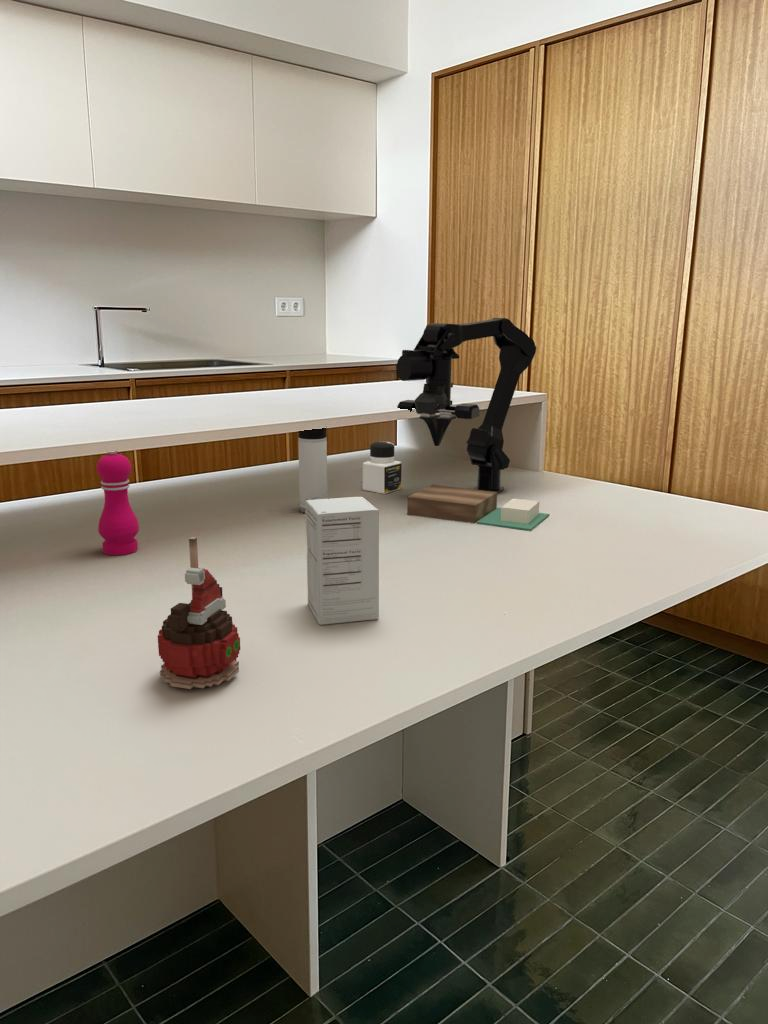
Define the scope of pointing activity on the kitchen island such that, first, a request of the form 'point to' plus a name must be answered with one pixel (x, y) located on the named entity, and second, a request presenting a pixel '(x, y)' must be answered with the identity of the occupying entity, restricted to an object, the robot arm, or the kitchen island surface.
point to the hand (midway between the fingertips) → (436, 445)
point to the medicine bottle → (382, 469)
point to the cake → (199, 634)
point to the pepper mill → (117, 506)
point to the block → (520, 511)
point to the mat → (495, 520)
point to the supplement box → (342, 559)
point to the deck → (452, 503)
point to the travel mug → (312, 466)
